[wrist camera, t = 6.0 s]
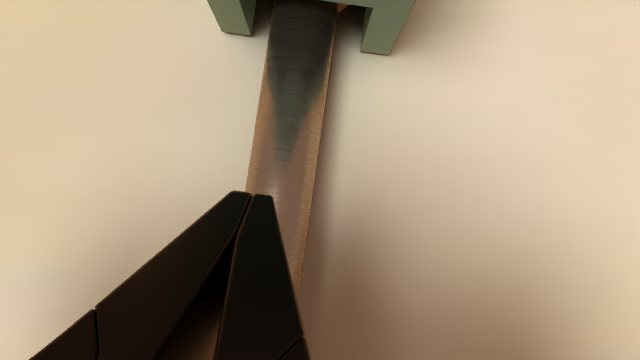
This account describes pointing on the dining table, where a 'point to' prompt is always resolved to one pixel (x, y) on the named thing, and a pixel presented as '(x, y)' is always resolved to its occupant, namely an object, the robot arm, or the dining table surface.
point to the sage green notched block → (381, 3)
